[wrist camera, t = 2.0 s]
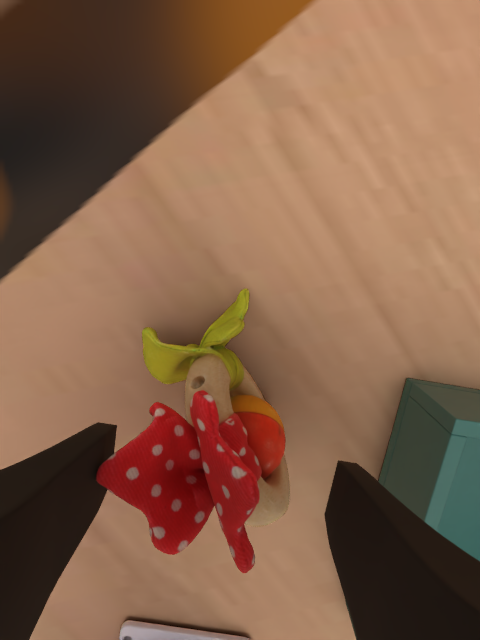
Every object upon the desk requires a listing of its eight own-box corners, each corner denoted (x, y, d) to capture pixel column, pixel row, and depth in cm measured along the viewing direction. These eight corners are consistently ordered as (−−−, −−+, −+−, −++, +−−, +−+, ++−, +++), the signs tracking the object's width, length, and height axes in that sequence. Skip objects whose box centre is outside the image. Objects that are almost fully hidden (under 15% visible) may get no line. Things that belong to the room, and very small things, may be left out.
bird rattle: (300, 365, 22) (218, 242, 17) (419, 567, 13) (317, 432, 8) (210, 419, 22) (105, 317, 17) (262, 650, 13) (71, 576, 8)
